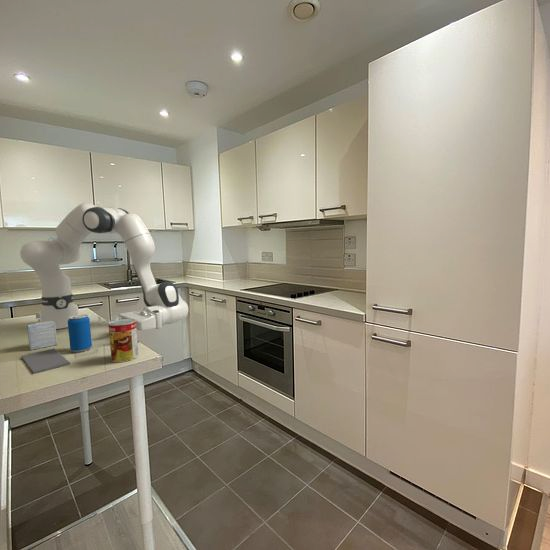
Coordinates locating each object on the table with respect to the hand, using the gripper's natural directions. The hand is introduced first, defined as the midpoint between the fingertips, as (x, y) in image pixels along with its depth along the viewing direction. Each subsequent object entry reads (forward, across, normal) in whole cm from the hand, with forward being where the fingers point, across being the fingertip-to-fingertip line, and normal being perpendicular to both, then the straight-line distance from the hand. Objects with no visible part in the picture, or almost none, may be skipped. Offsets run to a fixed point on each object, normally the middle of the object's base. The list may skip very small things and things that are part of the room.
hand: (115, 324), depth 117 cm
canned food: (+5, +20, +7) cm, 22 cm away
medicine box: (+20, -16, +7) cm, 26 cm away
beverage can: (+12, 0, +7) cm, 14 cm away
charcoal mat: (+23, +2, +7) cm, 24 cm away
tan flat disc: (+12, 0, +7) cm, 14 cm away
